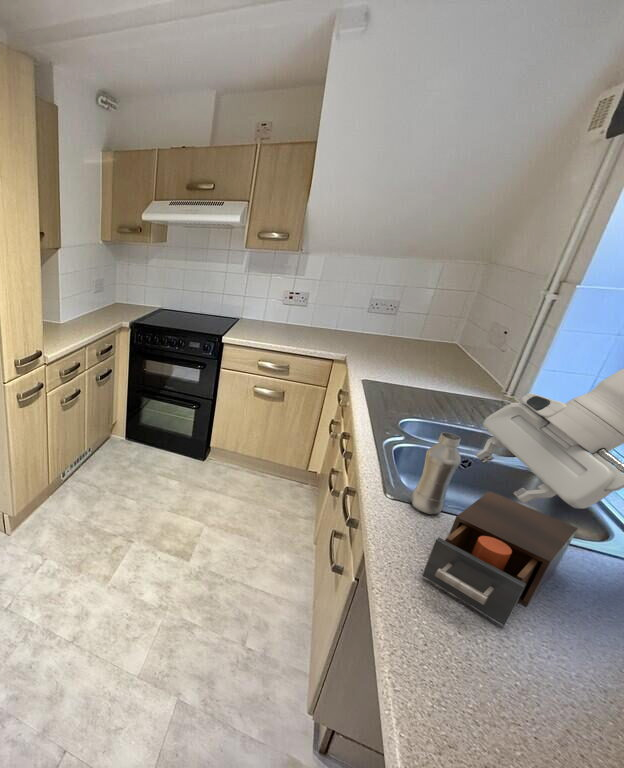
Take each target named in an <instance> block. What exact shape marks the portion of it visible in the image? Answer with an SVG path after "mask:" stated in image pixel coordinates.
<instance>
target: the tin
mask: <svg viewBox="0 0 624 768" xmlns="http://www.w3.org/2000/svg"><path fill="white" fill-rule="evenodd" d="M511 553H512V550H511V548H510V547H509V546H508V545H507V544H505V543H504V542H502V541H500V540H498V539H495V538H492V537H489V536H480V537H479V538H478V540H477V542H476V544H475V547H474V549H473V551H472V554H471V555H473V556H475V557H477V558H479V559H480V560H482V561H484V562H486V563H488V564H490V565H492V566H494V567H496V568H497V569H499V570H501V571H503V570H504V568H505V566H506V564H507V562H508V560H509V558H510V555H511Z"/></svg>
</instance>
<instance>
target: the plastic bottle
mask: <svg viewBox="0 0 624 768" xmlns="http://www.w3.org/2000/svg"><path fill="white" fill-rule="evenodd" d="M437 442H438V443H436V444H433V445H432V446H430V447H429V448H428V449H427V450H426V453H425V459H424V465H423V470H422V473H421V476H420V479H419V480H418V483H417V485H416V486H415V487H414V489H413V491H412V493H411V497H410V502H411V504H412V506H413V507H414V508H415V509H416V510H418V511H420V512H422V513H424V514H428V515H438V514H439V513H441V512H442V511H443V509H444V508H445V504H446V495H447V493H448V488H449V485H450V482H451V481H452V479H453V477H454V475H455V473H456V471H457V469H459V467H460V465H461V463H462V458H461V453H460V452H459V450H458V448H459V447H460V443H461V437H460V436H458V435H457V434H454V433H451V432H441V433H440V435H439V437H438V439H437Z"/></svg>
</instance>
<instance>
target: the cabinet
mask: <svg viewBox="0 0 624 768" xmlns="http://www.w3.org/2000/svg"><path fill="white" fill-rule="evenodd" d="M463 524H465V525H467V526H469V527H472V528H474V529H476V530H478V531H480V532H482V533H484V534H486V535H488V536H490V537H492V538H495V539H498V540H500V541H502V542H504V543H505V544H507V545H508V546H510V547H512V548H514V549H517V550H519V551H521V552H523V553H525V554H527V555H529V556H531V557H533V558H535V559H537V560H539V561H541V562H542V563H541V565H540V567H539V569H538V570H537V572H536V574H535V576H534V578H533V580H532V582H531V584H530V585H529V586H528V587H527V589H526V590H525V591H524V592H523V594H522V595H521V596H520V598H519V600H518V602H517V603H519V604H520V605H522V606H523V607H526V608H527V607H528V606H529V605H530V604H531V602H532V601H533V600H534V599H535V597H536V596H537V595H538V594H539V592H540V591H541V590H542V589H543V587H544V586H545V584H546V583H547V582H548V580H549V579H550V578H551V577H552V575H553V574H554V573H555V571H556V570H557V568H558V566H559V564H560V563H561V561H562V559H563V557H564V556H565V553H566V552H567V550H568V548H569V546H570V544H571V542H572V541H573V539H574V536H575V535H576V533H577V531H578V529H579V528H578V527H577V526H574V525H572V524H570V523H567V522H564V521H562V520H560V519H557V518H556V517H553V516H551V515H548V514H546V513H544V512H541V511H539V510H536V509H533V508H532V507H529V506H526V505H524V504H522V503H519V502H517V501H515V500H512V499H510V498H508V497H505V496H503V495H500V494H497V493H495V492H494V491H490V490H488V491H487V492H485V493H484V494H483V495H482V496H480V497H479V498H478V499H477V500H475V501H474V502H473V503H472V504H471V505H469V506H468V507H467V508H465V509H464V510H463V511H461V512H460V513H458V514H457V515H456V516H455V519H454V521H453V524H452V526H451V529H450V531H449V534H448V536H449V535H450V534H452V533H453V532H454V531H455V530H457V529H458V528H459V527H460V526H462V525H463Z"/></svg>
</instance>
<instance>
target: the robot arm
mask: <svg viewBox="0 0 624 768" xmlns="http://www.w3.org/2000/svg"><path fill="white" fill-rule="evenodd" d="M482 427H483V428H484V429H486V431H488V432H489V433H490V434H491V435H492V436H491V437H490V438H488V439H487V440H486V443H485V444H484V446H483V449H482V450H480V451H479V452H477V453H476V454H475V457H477V459H479V461H481V462H482V463H483V464H487V463H489V462H490V461H493V460H495V457H494V456H493V454H494V452H495V451H496V450H497V448H498V450H499V449H502V448H504V447H505V449H507V450H508V451H509V452H510V453H512V455H514V456H515V457H516V458H517V459H518V460H519V461H520V462H521V463H522V464H523V465H524V466H526V467H527V468H528V470H530V471H531V472H532V473H533V474H534V475H535V476H536V477H538V478H539V479H540V481H542V482H543V483H541V484H540V485H538V486H537V487H538V489H532V490H527V489H525V488H524V487H521V488H519V489H518V490H515V491H514V492H512V494H513V496H515V497H516V499H518V500H519V501H520V502H521V503H527V502H529V501H531V500H533V499H551V498H554V497H555V496H558V497H559V498H560V499H561V500H563V502H565V503H566V504H568V505H569V506H570V507H572V508H574V509H583V510H584V509H588V508H589V507H591V506H594V505H595V504H597V503H598V502H600V501H602V500H603V499H604V498H606V497H607V496H609V495H610V494H612V493H613V492H617V491H620V490H622V489H624V463H623V462H622V461H621V460H619V459H618V458H617V457H616V456H615V455H614V454H612V453H611V451H613V450H614V449H616V448H618V447H620V446H622V445H624V367H623V368H622V369H619V370H618V371H615V373H613V374H611V375H609V376H608V377H606V378H605V379H602V380H601V381H599V383H598V384H596V385H595V387H594V388H592V390H590V391H588V392H587V393H585V394H581V395H579V396H576V397H574V398H572V399H570V400H568V401H567V402H566V403H565V402H562V401H559V400H555V399H553V398H550V397H549V398H548V397H545V396H542V395H540V394H537V393H533V392H530V393H527V394H525V395H524V396H523V397H522V398H521V402H512V403H510V404H507V405H505V406H503V407H501V408H500V409H498V410H496V411H495V412H493V413H492V414H490V415H488V416H487V417H486V418H485V419H484V420H483V423H482Z"/></svg>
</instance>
